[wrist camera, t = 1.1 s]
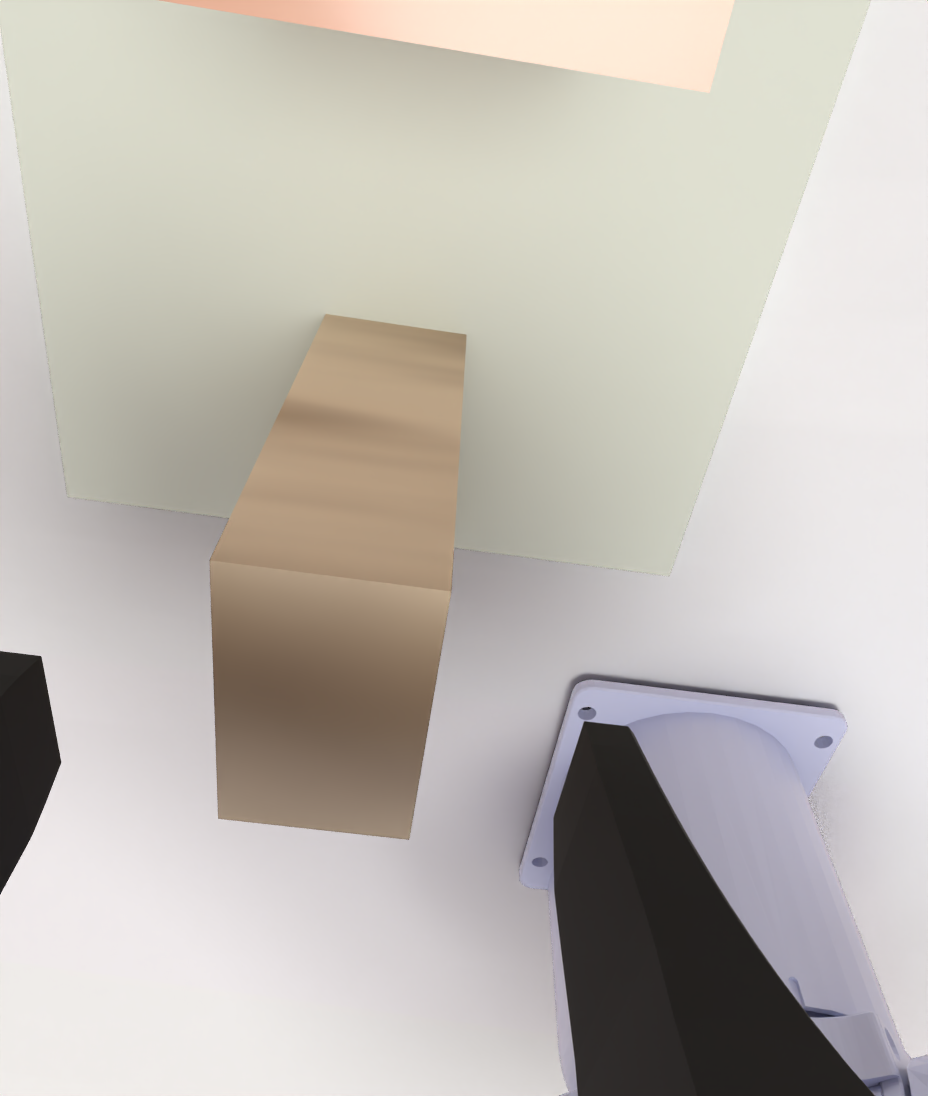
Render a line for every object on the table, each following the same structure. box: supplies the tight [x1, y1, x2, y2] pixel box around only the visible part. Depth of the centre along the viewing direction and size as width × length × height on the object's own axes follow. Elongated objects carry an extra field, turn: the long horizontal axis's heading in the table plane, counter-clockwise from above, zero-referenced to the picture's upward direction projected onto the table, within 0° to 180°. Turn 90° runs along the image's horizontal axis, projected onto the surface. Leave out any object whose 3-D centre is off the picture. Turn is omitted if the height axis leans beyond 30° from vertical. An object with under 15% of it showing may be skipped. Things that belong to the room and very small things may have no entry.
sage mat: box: [0, 0, 871, 576], centre depth 15 cm, size 22×15×1 cm
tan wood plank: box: [210, 314, 467, 840], centre depth 16 cm, size 5×3×9 cm, turn 172°
